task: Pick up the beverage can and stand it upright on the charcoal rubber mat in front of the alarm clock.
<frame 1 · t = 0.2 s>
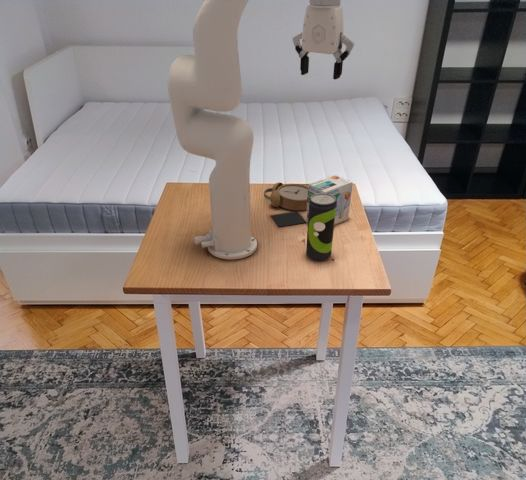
hand: (320, 76, 135), 31 cm above the table, tool pointing down, fingers open, 9 cm apart
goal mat: (288, 219, 139), on the table
alarm clock: (289, 203, 147), on the table
light bulb box: (327, 221, 139), on the table
beverage can: (318, 256, 124), on the table
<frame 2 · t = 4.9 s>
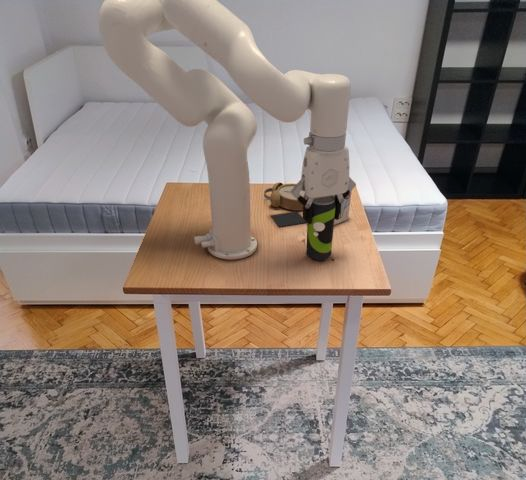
hand: (321, 218, 117), 10 cm above the table, tool pointing down, fingers closed on beverage can, 6 cm apart
beverage can: (318, 256, 124), on the table, touching gripper
everything else where it was.
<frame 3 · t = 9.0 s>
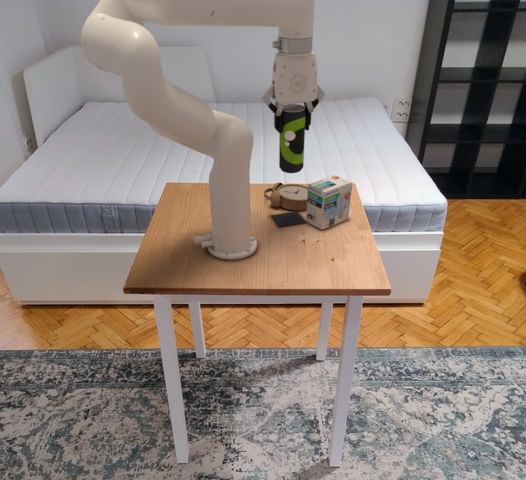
hand: (292, 129, 123), 24 cm above the table, tool pointing down, fingers closed on beverage can, 6 cm apart
beverage can: (291, 170, 129), point 14 cm above the table, touching gripper
everything else where it was.
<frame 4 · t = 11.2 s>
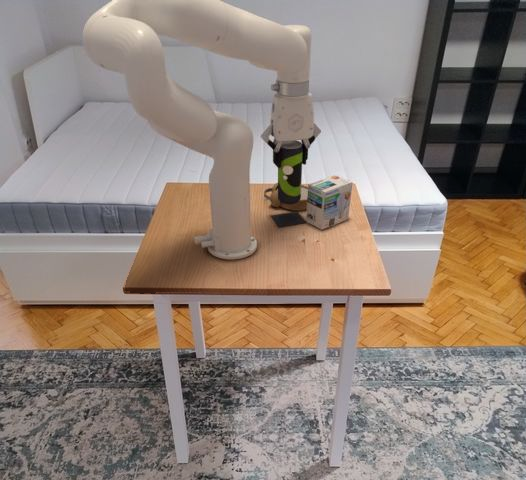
hand: (290, 163, 129), 16 cm above the table, tool pointing down, fingers closed on beverage can, 6 cm apart
beverage can: (289, 200, 136), point 5 cm above the table, touching gripper
everything else where it was.
when the fingers open (10 cm above the table, at t = 13.1 s): beverage can stays where it is, resting on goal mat.
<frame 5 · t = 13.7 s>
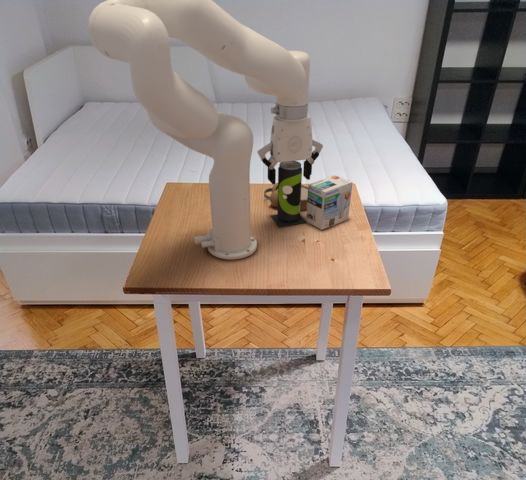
hand: (289, 180, 131), 11 cm above the table, tool pointing down, fingers open, 9 cm apart
beverage can: (288, 218, 139), resting on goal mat
everything else where it was.
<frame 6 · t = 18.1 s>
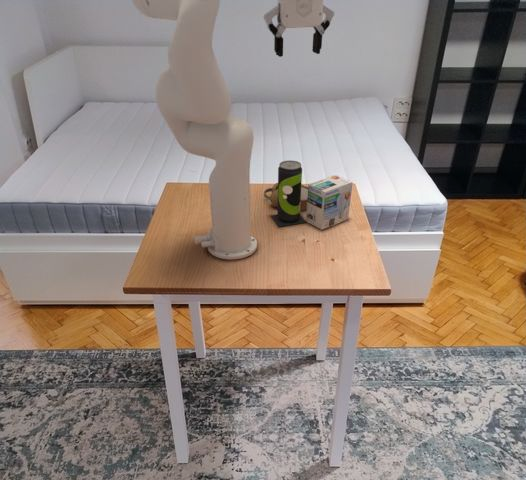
hand: (297, 54, 122), 38 cm above the table, tool pointing down, fingers open, 9 cm apart
nothing on the table moved.
at the end: beverage can inside the target area on the table beside the alarm clock (2.7 cm from its centre), resting on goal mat; beverage can tilted 0°; the gripper is holding nothing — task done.
